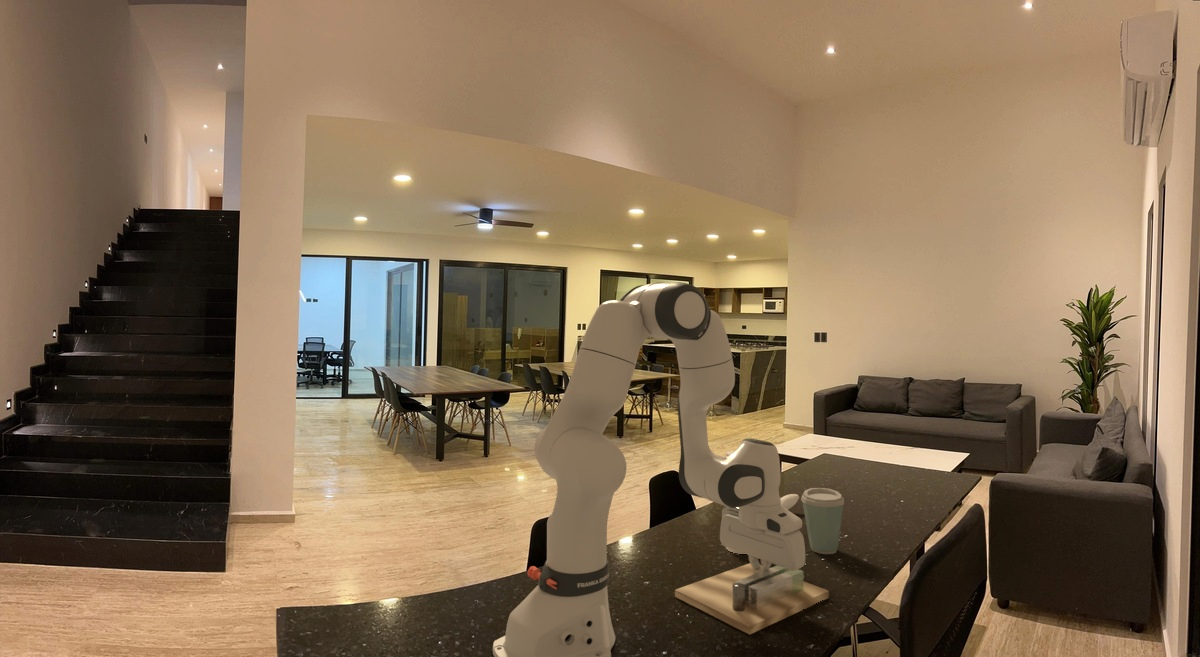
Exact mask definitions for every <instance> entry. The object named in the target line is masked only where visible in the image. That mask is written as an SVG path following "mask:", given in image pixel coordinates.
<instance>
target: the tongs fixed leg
mask: <svg viewBox="0 0 1200 657" xmlns="http://www.w3.org/2000/svg"><path fill="white" fill-rule="evenodd" d="M803 581H804V570H802V569H797V570H795V571H792V570H790V571H787V572H785V573H782V574H780V575H777V576H775V577H772V578H769V579H767V580H764V581H762V582H759V583H757V584H754V585H751V586H749V607H751V608H753V609H756V610H758V609H760V608H763V607H765V606H767V605H770V604H772V603H774V602H777V601H779V600H781V599H784V598H786V597H788V596H791V595H793V594H795V593H798V592H800V591H802V590H803Z"/></svg>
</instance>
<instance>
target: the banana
mask: <svg viewBox="0 0 1200 657" xmlns="http://www.w3.org/2000/svg"><path fill="white" fill-rule="evenodd" d="M780 499H781V505H782V506H783V507H784V508H786V509H787V510H788V511H789V510H790V509H791V508H792V507H794V506H795V505H796V504H797V502H798V501H799V499H800V496H799V494H796V493H790V494H786V495H783V496H782V497H780Z"/></svg>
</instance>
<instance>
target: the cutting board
mask: <svg viewBox="0 0 1200 657" xmlns="http://www.w3.org/2000/svg"><path fill="white" fill-rule="evenodd" d="M760 566H761V567H762V566H763V564H760ZM751 575H753V568H752V565H751V563H750V562H749V563H746V564H744V565H741V566H738V567H736V568H732V569H730V570H726V571H723V572H721V573H719V574H716V575H713V576H710V577H707V578H704V579H702V580H699V581H695V582H692V583H690V584H687V585H685V586H682V587H679V588H676V589H674V597H675V598H676V599H679V600H680V601H683V602H685V603H686V604H688V605H690V606H692V607H694V608H697V609H699V610H701V611H702V612H704V613H706V614H708V615H710V616H712V617H714V618H715V619H718V620H720V621H722V622H724V623H726V624H728V625H729V626H732V627H733V628H736V629H738V630H740V631H741V632H744V633H746V634H748V635H749V636H750V635H752V634H754V633H757V632H758V631H761V630H762V629H764V628H767V627H768V626H772V625H773V624H776V623H777V622H779V621H780V622H781V621H782V620H784V619H786V618H788V617H791V616H793V615H795V614H797V613H799V612H801V611H804V610H805V609H808V608H811V607H812V606H814V604H815V605H816V603H817V604H819V603H821V602H823V601H825V600H828V599H829V598H830V593H829V592H830V591H829V590H828V589H825V588H822V587H819V586H817V585H815V584H812V583H810V582H807V581H804V580H803V590H802V591H800V592H798V593H795V594H793V595H791V596H788V597H786V598H784V599H781V600H779V601H777V602H774V603H772V604H770V605H767V606H765V607H763V608H760V609H758V610H756V609H753V608H751V607H749V602H748V603H746V604H745V610H744V611H736V610H734V609H733V608H732V596H733V584H734V583H735V582H736V581H738V580H741V579H743V578H746V577H749V576H751ZM822 600H823V601H822ZM820 601H821V602H820ZM818 602H819V603H818ZM803 609H804V610H803Z"/></svg>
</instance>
